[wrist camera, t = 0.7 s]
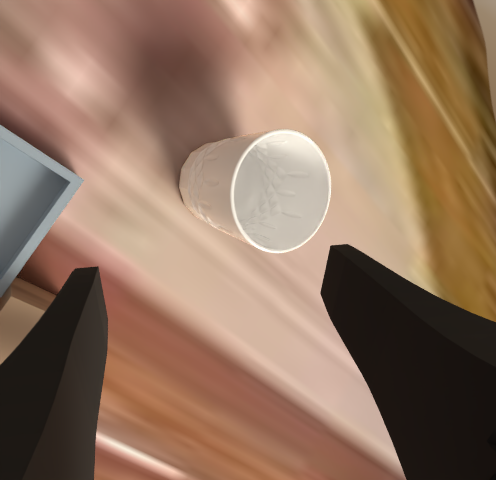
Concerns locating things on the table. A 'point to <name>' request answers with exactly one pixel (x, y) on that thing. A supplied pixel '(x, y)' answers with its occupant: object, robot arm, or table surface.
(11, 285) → the walnut block
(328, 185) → the white cup
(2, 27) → the table surface
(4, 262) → the parts tray
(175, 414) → the table surface
